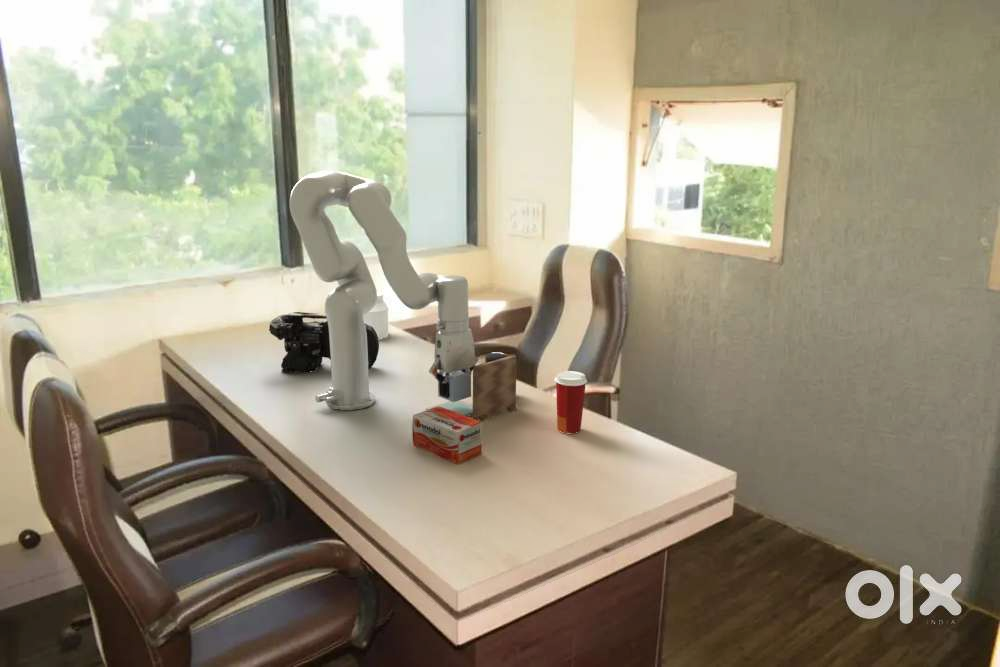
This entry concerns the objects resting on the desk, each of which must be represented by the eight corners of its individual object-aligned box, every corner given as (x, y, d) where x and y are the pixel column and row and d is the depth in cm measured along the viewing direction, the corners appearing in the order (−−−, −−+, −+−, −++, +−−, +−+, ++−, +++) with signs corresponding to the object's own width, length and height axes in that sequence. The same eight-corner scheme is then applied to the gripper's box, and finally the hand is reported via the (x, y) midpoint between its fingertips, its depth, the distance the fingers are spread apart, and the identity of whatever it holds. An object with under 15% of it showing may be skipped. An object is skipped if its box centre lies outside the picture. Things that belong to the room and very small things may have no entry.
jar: (351, 334, 267) (350, 292, 263) (376, 330, 273) (374, 289, 269) (367, 342, 258) (366, 298, 254) (392, 337, 264) (391, 295, 260)
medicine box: (411, 446, 177) (411, 413, 175) (437, 436, 183) (437, 404, 181) (457, 466, 167) (457, 432, 165) (483, 454, 173) (483, 421, 171)
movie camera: (264, 377, 219) (263, 317, 215) (280, 361, 237) (279, 306, 233) (373, 382, 220) (374, 323, 216) (381, 366, 238) (382, 311, 234)
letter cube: (453, 402, 193) (453, 378, 191) (438, 396, 197) (437, 373, 195) (471, 396, 197) (471, 373, 195) (456, 390, 201) (455, 368, 199)
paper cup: (587, 426, 189) (590, 372, 186) (580, 437, 182) (583, 382, 179) (557, 421, 192) (559, 368, 188) (548, 433, 185) (550, 378, 181)
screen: (479, 422, 191) (479, 368, 187) (468, 417, 194) (469, 364, 190) (519, 408, 200) (520, 357, 197) (508, 404, 203) (509, 354, 199)
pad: (451, 421, 191) (451, 419, 191) (426, 410, 198) (426, 408, 198) (480, 411, 198) (480, 409, 198) (455, 401, 205) (455, 399, 205)
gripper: (436, 334, 183) (437, 405, 188) (489, 322, 195) (489, 389, 200) (416, 328, 189) (418, 397, 193) (469, 317, 200) (470, 382, 205)
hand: (454, 392), depth 196 cm, fingers closed on letter cube, 6 cm apart
